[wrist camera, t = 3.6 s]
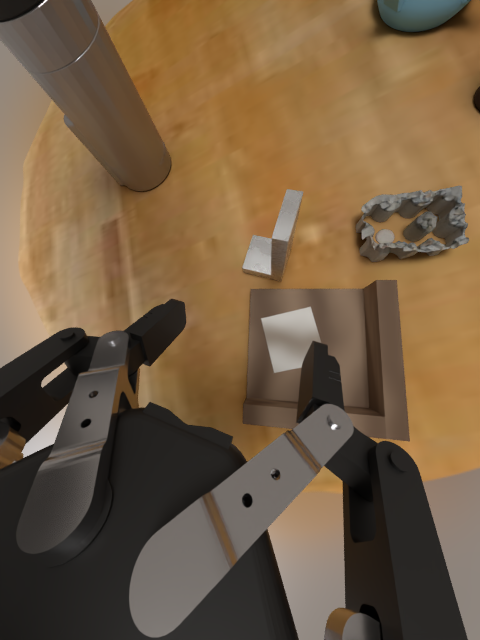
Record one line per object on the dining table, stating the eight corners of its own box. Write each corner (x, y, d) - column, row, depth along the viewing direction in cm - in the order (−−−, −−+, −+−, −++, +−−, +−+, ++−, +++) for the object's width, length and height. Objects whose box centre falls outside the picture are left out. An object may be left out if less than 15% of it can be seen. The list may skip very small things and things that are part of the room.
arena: (246, 412, 25) (242, 423, 21) (251, 291, 27) (248, 281, 23) (384, 425, 22) (409, 441, 18) (376, 291, 25) (396, 279, 21)
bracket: (243, 272, 28) (229, 229, 18) (253, 241, 28) (245, 182, 18) (281, 281, 27) (288, 241, 17) (291, 248, 27) (303, 191, 17)
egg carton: (356, 265, 26) (372, 249, 22) (351, 214, 27) (365, 191, 23) (448, 259, 24) (483, 241, 20) (439, 206, 25) (470, 179, 21)
